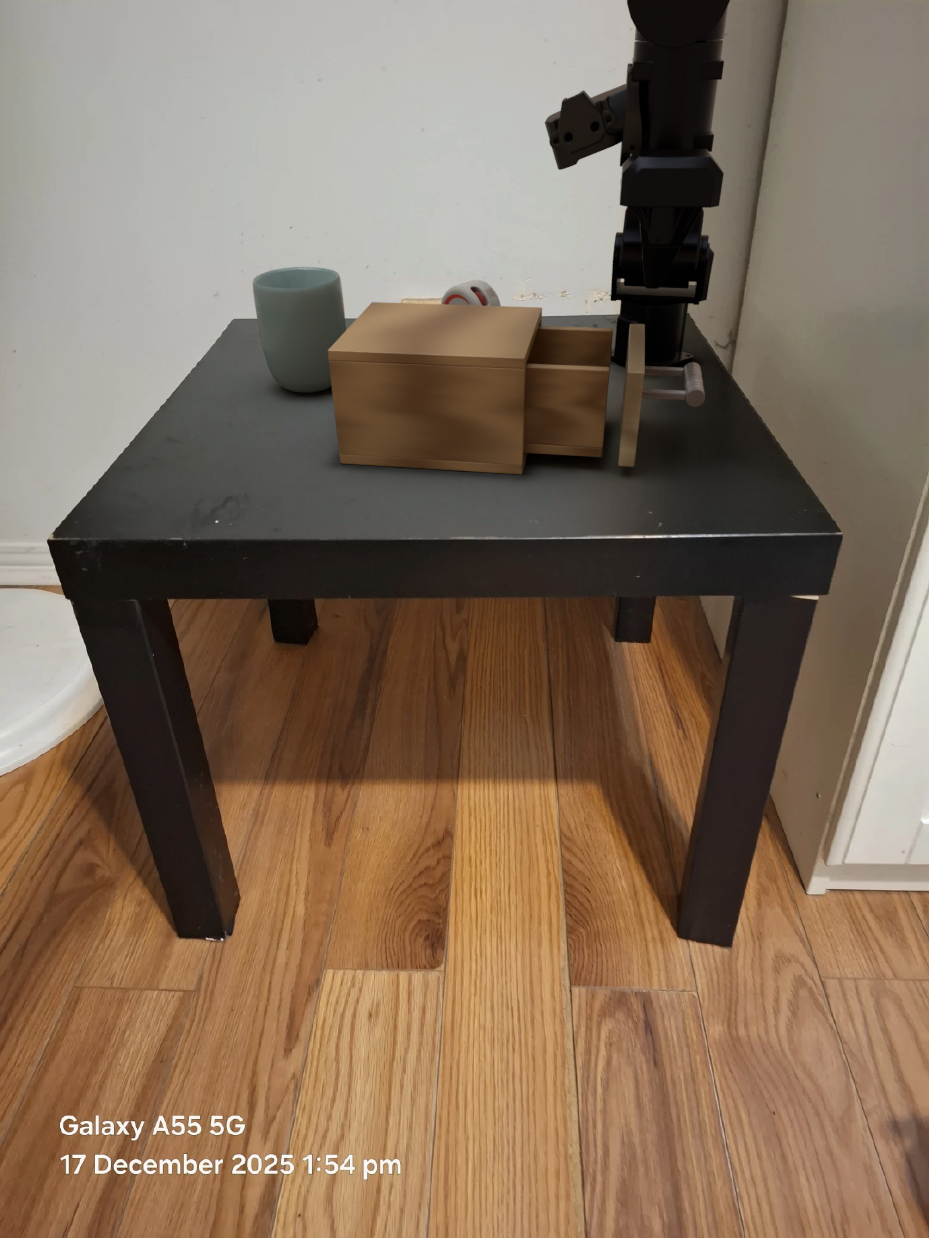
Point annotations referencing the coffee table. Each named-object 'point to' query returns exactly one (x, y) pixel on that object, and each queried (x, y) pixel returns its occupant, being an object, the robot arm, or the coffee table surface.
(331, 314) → the cup
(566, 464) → the coffee table surface
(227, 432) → the coffee table surface
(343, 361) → the cabinet
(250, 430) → the coffee table surface
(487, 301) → the roller toy
